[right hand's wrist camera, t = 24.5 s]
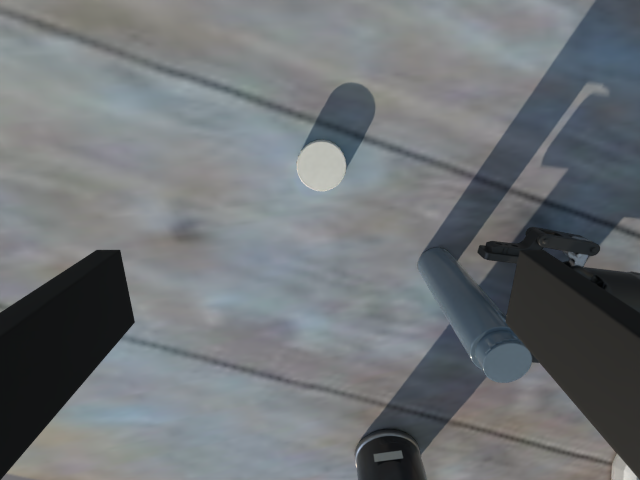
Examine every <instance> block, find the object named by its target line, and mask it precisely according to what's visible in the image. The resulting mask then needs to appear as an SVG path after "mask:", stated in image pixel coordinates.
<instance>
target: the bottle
mask: <svg viewBox="0 0 640 480" xmlns="http://www.w3.org/2000/svg"><path fill="white" fill-rule="evenodd" d="M418 270H419V273H420V274H421V276H422V278H423V279H424V281H425V283H426V284H427V286H428V288H429V289H430V291H431V293H432V295H433V296H434V298H435V300H436V301H437V303H438V305H439V306H440V308H441V310H442V311H443V313H444V315H445V316H446V318H447V320H448V321H449V323H450V325H451V327H452V328H453V330H454V332H455V333H456V335H457V337H458V338H459V340H460V342H461V343H462V345H463V347H464V348H465V350H466V352H467V354H468V355H469V357H470V359H471V360H472V362H473V363H474V365H476V366H477V367H478V368H480V369H482V370H483V372H484V373H485V375H486V376H487V377H488V378H489V379H491V380H493V381H495V382H500V383H507V382H512V381H515V380H517V379H519V378H521V377H522V376H523V375H525V374H526V373H527V371H528V370H529V368H530V366H531V363H532V356H531V353H530V351H529V350H528V348H527V347H526V346H525V345H524V344H523V343H522V341H521V340H520V339H519V338H518V337H517V335H516V334H515V333H514V332H513V331H512V330H511V328H510V327H509V326H508V325H507V324H506V323H505V321H506V316H505V315H504V314H503V313H502V312H501V310H500V309H499V308H498V307H497V306H496V305H495V304H494V302H493V301H492V300H491V299H490V298H489V297H488V296H487V294H486V293H485V292H484V291H483V290H482V289H481V288H480V287H479V285H478V284H477V283H476V282H475V281H474V280H473V279H472V277H471V276H470V275H469V274H468V273H467V272H466V271H465V269H464V268H463V267H462V266H461V265H460V264H459V263H458V261H457V260H456V259H455V258H454V257H453V256H452V255H451V253H450V252H449V251H447V250H446V249H443V248H432V249H429V250H427V251H425V252H424V253H423V254H422V255H421V257H420V258H419V261H418Z"/></svg>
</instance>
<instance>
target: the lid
mask: <svg viewBox="0 0 640 480" xmlns="http://www.w3.org/2000/svg"><path fill="white" fill-rule="evenodd" d="M346 167H347V165H346V158H345V157H344V153H343V152H342V151H341V150H340V147H338V146H337V145H336V144H335V143H332V142H330V141H327V140H324V139H323V140H316V141H313V142H310V143H309V144H308V145H305V147H304V148H303V150H301V153H300V155H298V161H297V171H298V176H299V177H300V179H301V181H302V182H303V183H304V184H305V185H306V186H307V187H309V188H311V189H313V190H317V191H326V190H330V189H332V188H334V187H336V186H337V185H338V184H339V183H340V182H341V181H342V179H343V177H344V175H345V173H346Z"/></svg>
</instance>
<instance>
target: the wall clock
mask: <svg viewBox="0 0 640 480" xmlns="http://www.w3.org/2000/svg"><path fill="white" fill-rule="evenodd" d="M611 480H639V479H638V477H637V476H636V475H635V474H634V473H633V472H632V470H631V469H630V468H629V467H628V466H627V465H626V463H625V462H624V461H623V460H622V459H621V458H620V456H619V455H618V454H616V456H615V459H614V461H613V463H612V476H611Z"/></svg>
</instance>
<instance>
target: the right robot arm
mask: <svg viewBox="0 0 640 480" xmlns="http://www.w3.org/2000/svg"><path fill="white" fill-rule="evenodd" d="M134 323H135V321H134V316H133V311H132V306H131V301H130V297H129V292H128V287H127V282H126V277H125V272H124V267H123V262H122V257H121V252H120V250H96V251H94V252H93V253H91V254H90V255H88V256H87V257H85V258H84V259H82V260H81V261H79V262H78V263H76V264H74V265H73V266H71V267H70V268H68V269H67V270H65V271H64V272H62V273H61V274H59V275H58V276H56V277H54V278H53V279H51V280H50V281H48V282H47V283H45V284H44V285H42V286H41V287H39V288H38V289H36V290H34V291H33V292H31V293H30V294H28V295H27V296H25V297H24V298H22V299H21V300H19V301H18V302H16V303H14V304H13V305H11V306H10V307H8V308H7V309H5V310H4V311H2V312H1V313H0V480H1V479H2V477H3V476H4V475H5V474H6V473H7V472H8V470H9V469H10V468H11V467H12V466H13V465H14V463H15V462H16V461H17V460H18V459H19V458H20V456H21V455H22V454H23V453H24V452H25V450H26V449H27V448H28V447H29V446H30V445H31V443H32V442H33V441H34V440H35V439H36V438H37V436H38V435H39V434H40V433H41V432H42V431H43V429H44V428H45V427H46V426H47V425H48V424H49V422H50V421H51V420H52V419H53V418H54V416H55V415H56V414H57V413H58V412H59V411H60V409H61V408H62V407H63V406H64V405H65V404H66V402H67V401H68V400H69V399H70V398H71V397H72V395H73V394H74V393H75V392H76V391H77V389H78V388H79V387H80V386H81V385H82V384H83V382H84V381H85V380H86V379H87V378H88V377H89V375H90V374H91V373H92V372H93V371H94V370H95V368H96V367H97V366H98V365H99V364H100V362H101V361H102V360H103V359H104V358H105V357H106V355H107V354H108V353H109V352H110V351H111V350H112V348H113V347H114V346H115V345H116V344H117V343H118V341H119V340H120V339H121V338H122V337H123V335H124V334H125V333H126V332H127V331H128V330H129V328H130V327H131V326H132V325H133V324H134ZM505 323H506V324H507V325H508V326H509V327H510V328H511V330H512V331H513V332H514V333H515V334H516V335H517V337H518V338H519V339H520V340H521V341H522V343H523V344H524V345H525V346H526V347H527V348H528V350H529V351H530V352H531V353H532V354H533V355H534V357H535V358H536V359H537V360H538V361H539V362H540V364H541V365H542V366H543V367H544V368H545V370H546V371H547V372H548V373H549V374H550V375H551V377H552V378H553V379H554V380H555V381H556V382H557V384H558V385H559V386H560V387H561V388H562V389H563V391H564V392H565V393H566V394H567V395H568V397H569V398H570V399H571V400H572V401H573V402H574V404H575V405H576V406H577V407H578V408H579V409H580V411H581V412H582V413H583V414H584V415H585V416H586V418H587V419H588V420H589V421H590V422H591V424H592V425H593V426H594V427H595V428H596V429H597V431H598V432H599V433H600V434H601V435H602V436H603V438H604V439H605V440H606V441H607V442H608V443H609V445H610V446H611V447H612V448H613V449H614V451H615V452H616V453H617V454H618V455H619V456H620V458H621V459H622V460H623V461H624V462H625V463H626V465H627V466H628V467H629V468H630V469H631V470H632V472H633V473H634V474H635V475H636V476H637V477H638V479H639V480H640V313H639V312H638V311H636V310H635V309H633V308H632V307H630V306H629V305H627V304H626V303H624V302H622V301H621V300H619V299H618V298H616V297H615V296H613V295H612V294H610V293H609V292H607V291H606V290H604V289H602V288H601V287H599V286H598V285H596V284H595V283H593V282H592V281H590V280H589V279H587V278H586V277H584V276H582V275H581V274H579V273H578V272H576V271H575V270H573V269H572V268H570V267H569V266H567V265H566V264H564V263H562V262H561V261H559V260H558V259H556V258H555V257H553V256H552V255H550V254H549V253H547V252H546V251H544V250H520V252H519V257H518V262H517V267H516V272H515V277H514V282H513V287H512V292H511V297H510V301H509V306H508V311H507V316H506V321H505Z"/></svg>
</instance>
